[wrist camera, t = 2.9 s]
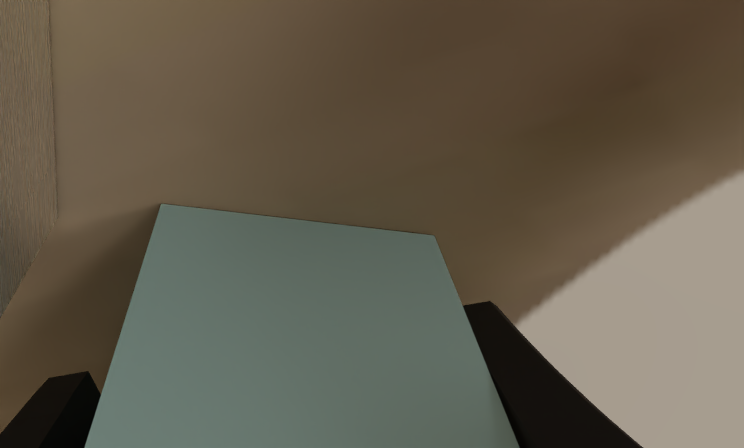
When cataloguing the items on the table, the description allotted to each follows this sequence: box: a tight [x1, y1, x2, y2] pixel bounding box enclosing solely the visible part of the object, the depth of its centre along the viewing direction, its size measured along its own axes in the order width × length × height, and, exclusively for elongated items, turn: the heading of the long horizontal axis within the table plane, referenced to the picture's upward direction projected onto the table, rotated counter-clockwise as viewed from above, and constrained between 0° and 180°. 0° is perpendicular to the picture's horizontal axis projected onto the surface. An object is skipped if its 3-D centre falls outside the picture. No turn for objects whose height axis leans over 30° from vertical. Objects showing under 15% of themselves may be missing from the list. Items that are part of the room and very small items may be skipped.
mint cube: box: [85, 204, 519, 448], centre depth 9 cm, size 4×4×5 cm
